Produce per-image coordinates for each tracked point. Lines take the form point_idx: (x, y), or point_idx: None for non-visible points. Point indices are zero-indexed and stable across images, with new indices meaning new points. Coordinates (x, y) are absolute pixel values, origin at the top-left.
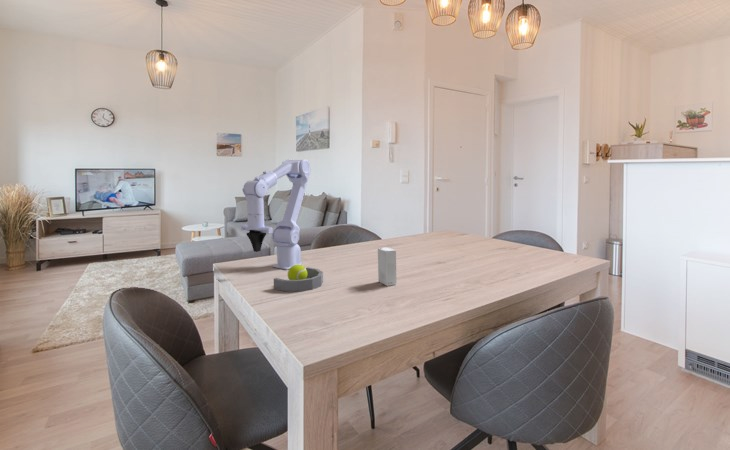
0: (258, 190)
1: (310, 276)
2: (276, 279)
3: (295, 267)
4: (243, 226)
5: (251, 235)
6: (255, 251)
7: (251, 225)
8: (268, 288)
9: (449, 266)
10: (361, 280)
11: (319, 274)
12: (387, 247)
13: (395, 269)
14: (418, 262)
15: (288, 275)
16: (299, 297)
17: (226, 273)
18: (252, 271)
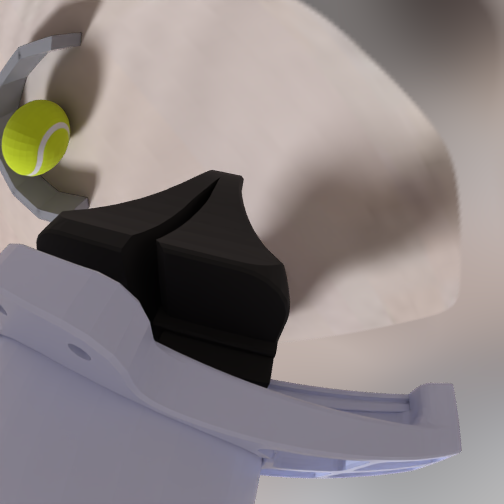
0: None
1: (69, 197)
2: (42, 39)
3: (6, 133)
4: (402, 443)
5: (144, 230)
6: (218, 171)
7: (6, 390)
8: (100, 24)
9: None
10: (6, 223)
11: (2, 168)
12: None
13: None
14: None
15: (41, 104)
16: (5, 42)
17: (440, 142)
18: (338, 200)
